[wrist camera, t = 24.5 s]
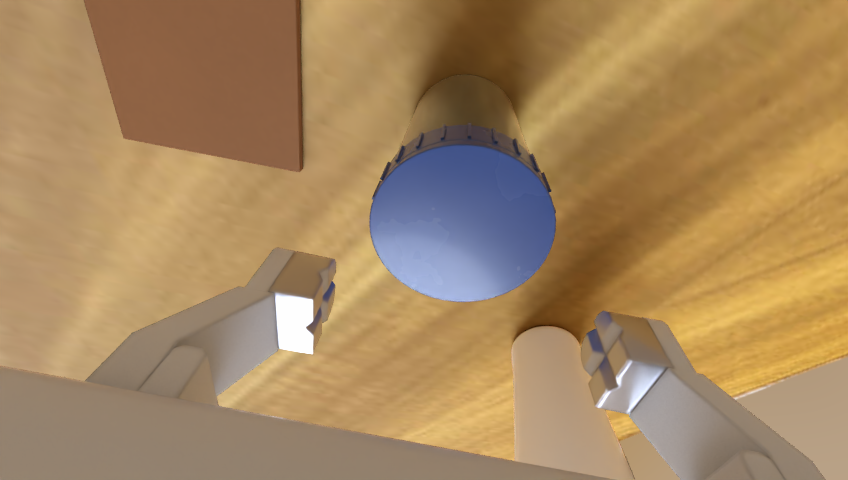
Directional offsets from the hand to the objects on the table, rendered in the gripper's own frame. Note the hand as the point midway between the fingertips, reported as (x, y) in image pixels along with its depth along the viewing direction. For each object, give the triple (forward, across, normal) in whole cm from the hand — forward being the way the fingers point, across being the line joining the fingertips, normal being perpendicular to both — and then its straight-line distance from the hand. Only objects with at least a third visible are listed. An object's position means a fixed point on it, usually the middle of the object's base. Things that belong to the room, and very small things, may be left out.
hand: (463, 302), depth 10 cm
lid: (+4, 0, 0) cm, 4 cm away
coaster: (+14, +15, -1) cm, 21 cm away
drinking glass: (+15, -10, +16) cm, 24 cm away
